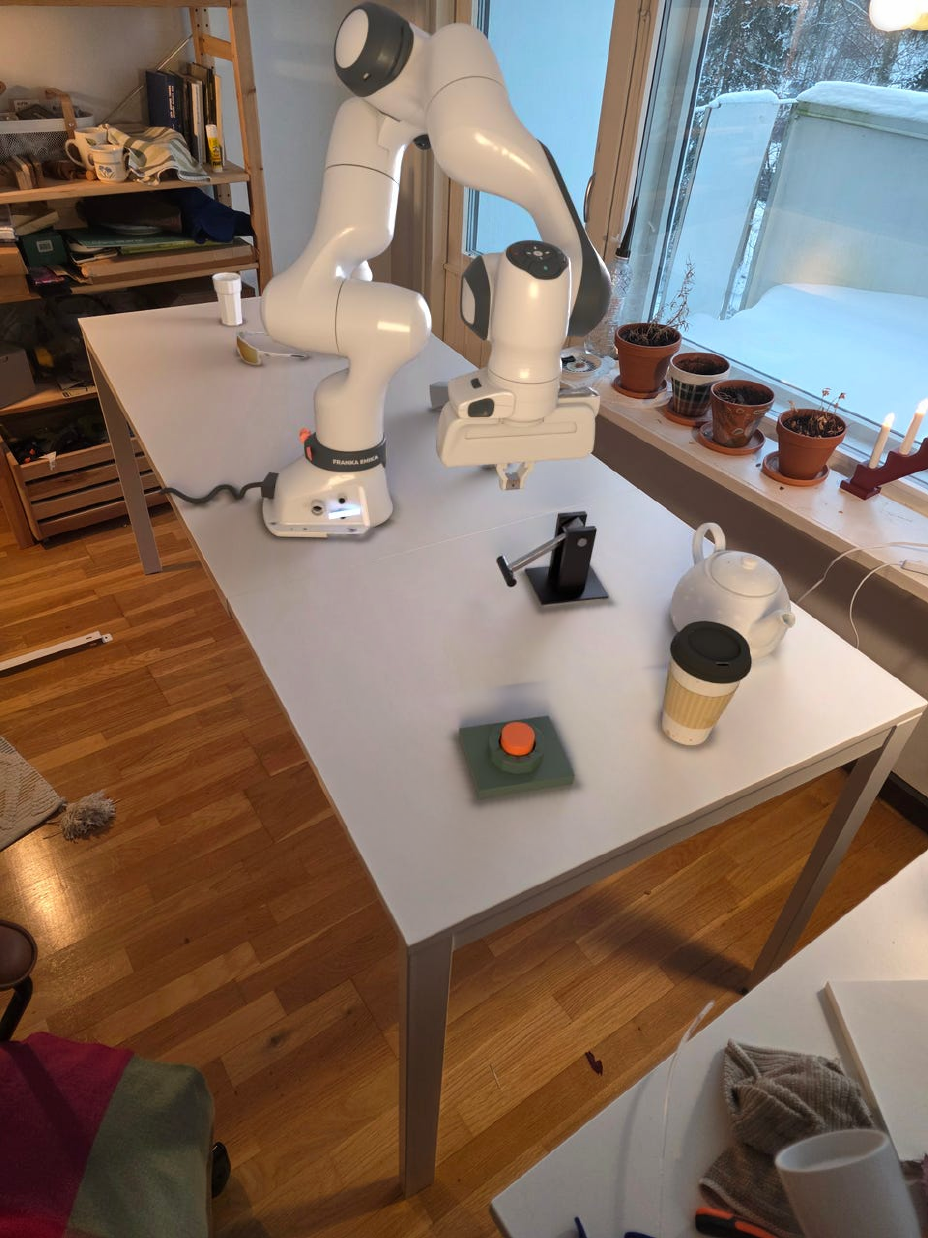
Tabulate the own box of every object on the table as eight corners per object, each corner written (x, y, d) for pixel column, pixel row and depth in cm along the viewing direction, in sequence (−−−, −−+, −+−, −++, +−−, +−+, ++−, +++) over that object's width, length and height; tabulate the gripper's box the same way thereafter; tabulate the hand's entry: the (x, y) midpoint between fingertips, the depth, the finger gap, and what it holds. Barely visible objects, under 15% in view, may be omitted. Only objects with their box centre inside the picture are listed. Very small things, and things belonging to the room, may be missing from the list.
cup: (238, 315, 207) (232, 270, 200) (250, 323, 203) (245, 278, 196) (214, 319, 203) (207, 274, 196) (225, 328, 200) (219, 282, 192)
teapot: (797, 617, 126) (827, 545, 117) (767, 686, 113) (799, 612, 105) (683, 575, 132) (704, 504, 124) (643, 636, 120) (663, 563, 111)
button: (505, 758, 97) (507, 749, 95) (496, 734, 99) (498, 724, 98) (537, 753, 97) (539, 744, 96) (527, 729, 100) (529, 719, 99)
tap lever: (510, 590, 121) (504, 580, 120) (499, 567, 126) (493, 557, 124) (593, 543, 119) (587, 532, 117) (579, 520, 123) (573, 510, 122)
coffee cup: (711, 701, 111) (742, 618, 101) (731, 756, 103) (767, 673, 93) (641, 699, 110) (665, 616, 100) (656, 755, 102) (684, 671, 93)
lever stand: (540, 610, 123) (551, 541, 115) (523, 574, 130) (533, 507, 122) (607, 602, 126) (623, 535, 117) (587, 568, 132) (600, 502, 124)
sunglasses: (228, 346, 191) (228, 325, 188) (289, 346, 198) (290, 326, 195) (245, 369, 182) (246, 347, 179) (309, 369, 189) (310, 348, 186)
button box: (478, 800, 95) (480, 781, 93) (458, 737, 103) (460, 718, 101) (572, 784, 98) (577, 766, 96) (547, 724, 105) (550, 705, 103)
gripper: (594, 374, 101) (577, 469, 111) (435, 381, 97) (431, 479, 106) (611, 398, 97) (592, 495, 106) (446, 406, 93) (441, 506, 102)
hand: (510, 487), depth 106 cm, fingers closed
